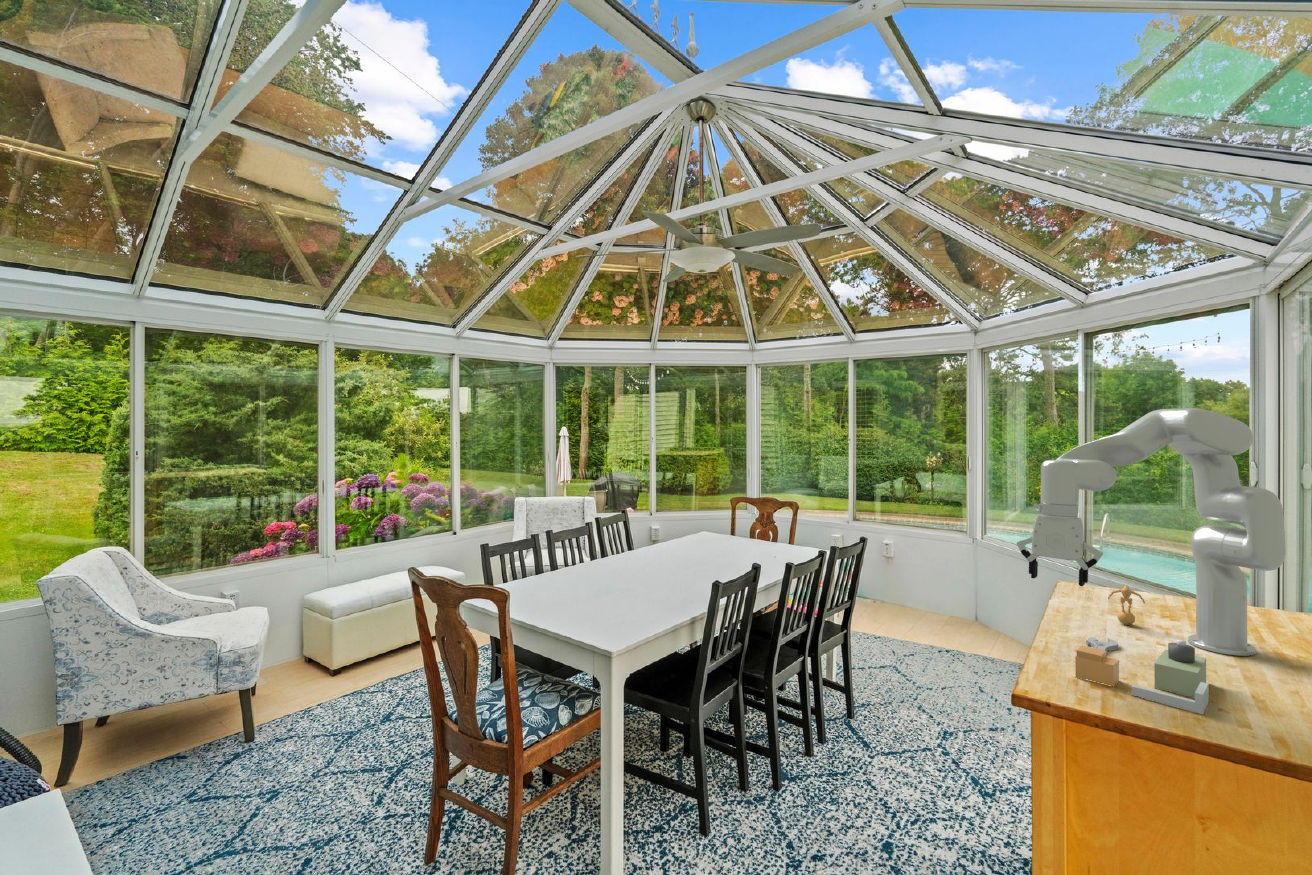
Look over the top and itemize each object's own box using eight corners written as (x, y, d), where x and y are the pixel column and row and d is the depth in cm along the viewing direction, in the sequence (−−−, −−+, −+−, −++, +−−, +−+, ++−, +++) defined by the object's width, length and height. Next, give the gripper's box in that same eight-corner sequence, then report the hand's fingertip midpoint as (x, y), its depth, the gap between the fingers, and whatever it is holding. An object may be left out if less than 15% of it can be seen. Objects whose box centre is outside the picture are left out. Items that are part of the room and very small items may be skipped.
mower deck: (1151, 669, 137) (1151, 628, 136) (1216, 684, 128) (1216, 641, 128) (1131, 695, 124) (1131, 650, 123) (1202, 714, 115) (1202, 666, 115)
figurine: (1144, 625, 167) (1144, 584, 167) (1145, 631, 162) (1145, 588, 162) (1108, 620, 172) (1108, 580, 172) (1108, 625, 167) (1107, 584, 167)
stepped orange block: (1081, 671, 136) (1081, 644, 136) (1119, 681, 131) (1118, 653, 131) (1075, 677, 133) (1075, 650, 133) (1113, 687, 128) (1113, 659, 127)
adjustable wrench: (1098, 675, 135) (1098, 668, 135) (1066, 667, 140) (1065, 660, 140) (1120, 647, 152) (1120, 640, 152) (1090, 640, 156) (1090, 634, 156)
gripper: (1013, 508, 143) (1012, 577, 143) (1100, 516, 131) (1099, 591, 131) (1021, 506, 148) (1020, 572, 148) (1106, 513, 136) (1104, 585, 136)
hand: (1057, 581), depth 140 cm, fingers open, 9 cm apart
